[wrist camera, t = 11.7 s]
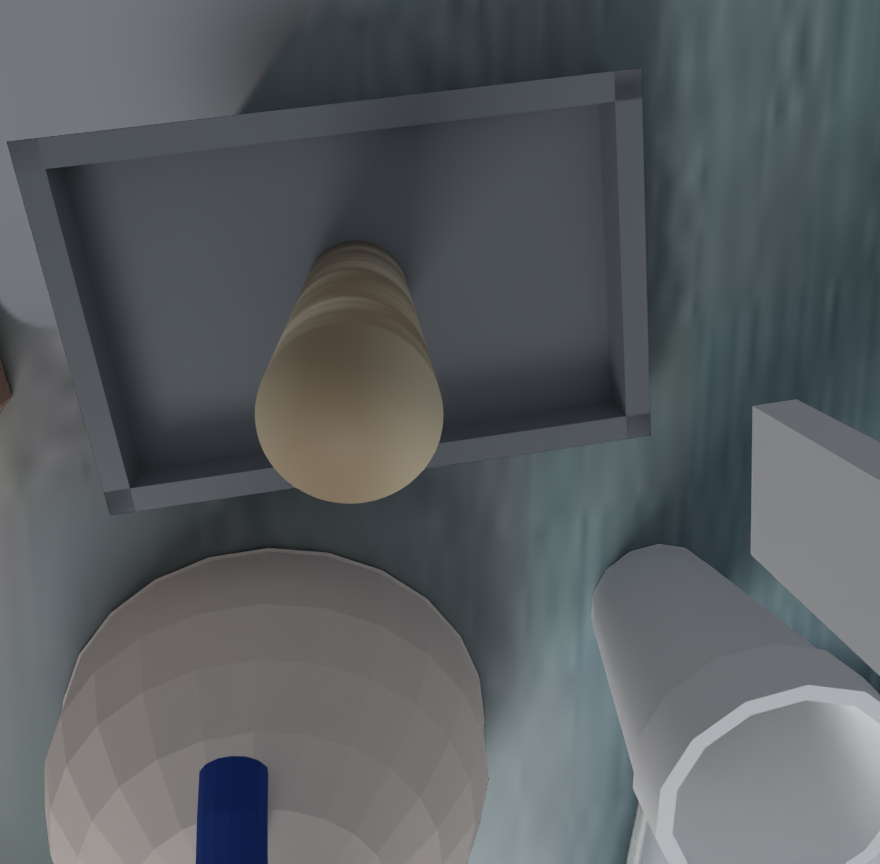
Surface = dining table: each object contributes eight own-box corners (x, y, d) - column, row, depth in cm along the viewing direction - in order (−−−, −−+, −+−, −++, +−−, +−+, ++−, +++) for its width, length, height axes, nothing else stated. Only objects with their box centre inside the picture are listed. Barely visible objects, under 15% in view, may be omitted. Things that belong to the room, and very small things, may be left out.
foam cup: (565, 519, 38) (669, 696, 26) (754, 508, 39) (941, 673, 27) (557, 690, 41) (647, 919, 29) (733, 675, 42) (891, 891, 30)
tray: (128, 485, 35) (110, 515, 32) (37, 141, 30) (6, 141, 28) (627, 413, 37) (650, 435, 34) (615, 74, 32) (641, 67, 29)
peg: (315, 347, 33) (272, 515, 18) (298, 247, 32) (238, 338, 17) (413, 335, 33) (452, 490, 18) (401, 234, 32) (432, 313, 17)
